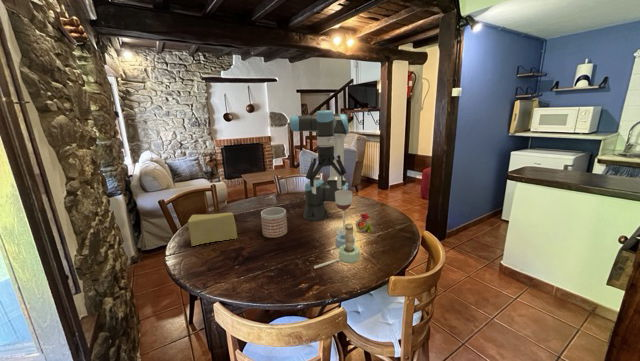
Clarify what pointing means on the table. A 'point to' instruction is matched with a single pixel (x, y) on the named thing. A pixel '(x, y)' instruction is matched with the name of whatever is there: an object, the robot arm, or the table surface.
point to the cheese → (211, 228)
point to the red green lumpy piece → (361, 224)
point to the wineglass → (343, 204)
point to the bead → (349, 254)
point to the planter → (274, 222)
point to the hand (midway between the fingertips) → (326, 190)
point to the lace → (326, 263)
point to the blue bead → (342, 240)
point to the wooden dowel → (348, 237)
